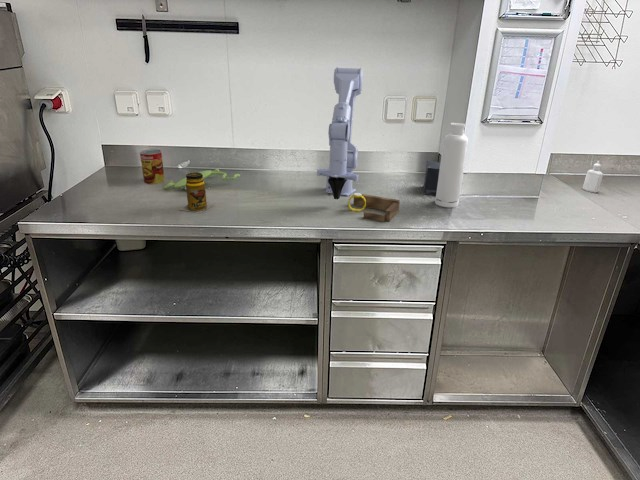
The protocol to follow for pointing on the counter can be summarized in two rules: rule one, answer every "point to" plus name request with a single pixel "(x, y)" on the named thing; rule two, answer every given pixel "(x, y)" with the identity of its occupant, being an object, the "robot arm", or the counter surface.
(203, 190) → the condiment
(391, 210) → the wooden u-shaped block
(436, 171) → the small box
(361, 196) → the watch
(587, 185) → the eye dropper bottle
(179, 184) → the figurine
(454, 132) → the bottle
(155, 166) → the canned food
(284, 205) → the counter surface
